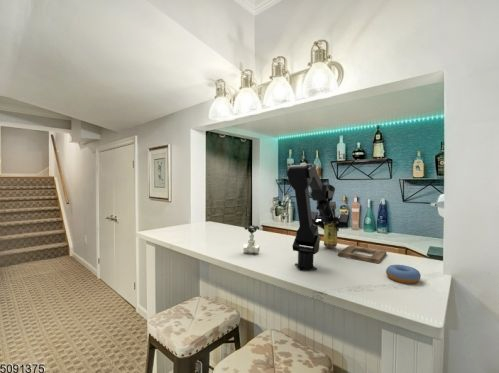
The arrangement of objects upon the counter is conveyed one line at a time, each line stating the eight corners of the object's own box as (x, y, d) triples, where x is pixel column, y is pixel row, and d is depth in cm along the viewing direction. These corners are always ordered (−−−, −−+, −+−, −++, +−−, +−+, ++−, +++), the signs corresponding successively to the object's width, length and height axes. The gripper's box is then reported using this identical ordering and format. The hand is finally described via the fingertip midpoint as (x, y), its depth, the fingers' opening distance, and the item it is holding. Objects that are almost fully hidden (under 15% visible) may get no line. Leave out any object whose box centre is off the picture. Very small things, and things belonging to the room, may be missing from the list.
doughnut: (426, 286, 80) (424, 271, 80) (390, 283, 82) (389, 269, 83) (415, 277, 89) (414, 264, 90) (383, 276, 92) (382, 262, 92)
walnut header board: (386, 254, 114) (386, 251, 114) (378, 263, 101) (378, 259, 101) (349, 248, 124) (349, 245, 124) (338, 255, 111) (338, 252, 111)
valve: (257, 256, 110) (257, 228, 109) (242, 255, 111) (242, 227, 111) (260, 252, 116) (260, 225, 116) (245, 251, 117) (246, 225, 117)
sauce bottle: (328, 248, 120) (328, 207, 118) (321, 245, 126) (320, 205, 124) (340, 247, 122) (340, 205, 120) (332, 243, 128) (332, 204, 126)
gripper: (350, 196, 114) (354, 218, 124) (309, 195, 125) (316, 215, 134) (345, 216, 108) (350, 237, 117) (303, 212, 118) (311, 232, 128)
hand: (331, 229), depth 124 cm, fingers closed on sauce bottle, 6 cm apart
